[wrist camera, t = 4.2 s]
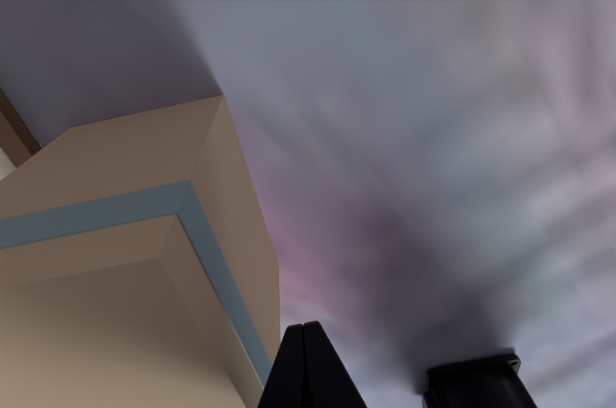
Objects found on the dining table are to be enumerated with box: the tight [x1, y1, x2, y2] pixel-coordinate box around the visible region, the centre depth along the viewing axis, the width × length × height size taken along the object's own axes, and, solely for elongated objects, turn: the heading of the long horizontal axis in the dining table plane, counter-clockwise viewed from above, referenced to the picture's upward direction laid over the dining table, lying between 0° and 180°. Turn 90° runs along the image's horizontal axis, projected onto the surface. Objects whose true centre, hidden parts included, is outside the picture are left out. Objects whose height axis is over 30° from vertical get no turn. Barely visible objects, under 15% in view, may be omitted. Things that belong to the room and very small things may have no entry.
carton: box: [0, 94, 280, 408], centre depth 12 cm, size 6×9×9 cm
